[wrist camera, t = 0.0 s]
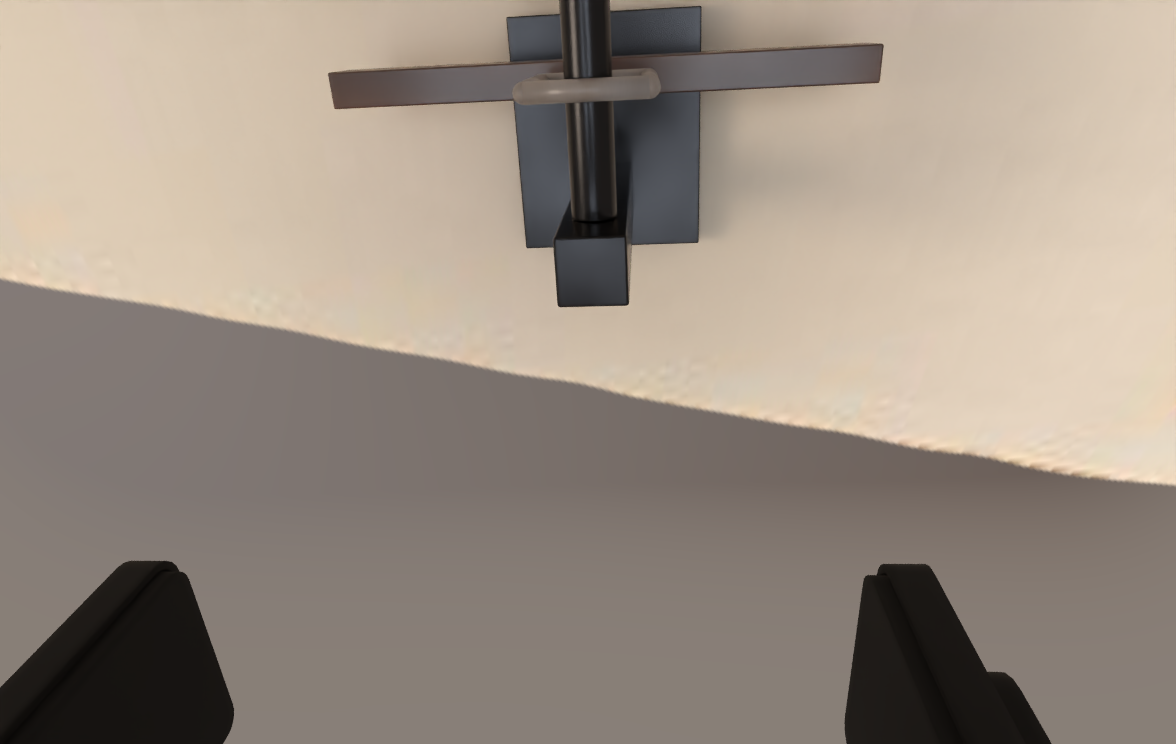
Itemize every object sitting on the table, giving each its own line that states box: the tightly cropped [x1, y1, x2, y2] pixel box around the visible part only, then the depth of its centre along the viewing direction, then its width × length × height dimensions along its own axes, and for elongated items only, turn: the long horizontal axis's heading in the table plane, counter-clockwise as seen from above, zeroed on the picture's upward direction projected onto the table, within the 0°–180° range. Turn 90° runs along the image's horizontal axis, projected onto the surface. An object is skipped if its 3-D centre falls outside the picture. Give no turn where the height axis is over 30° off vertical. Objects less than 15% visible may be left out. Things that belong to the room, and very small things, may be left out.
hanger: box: [328, 43, 883, 109], centre depth 27 cm, size 1×22×9 cm, turn 93°
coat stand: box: [507, 0, 701, 307], centre depth 29 cm, size 15×9×16 cm, turn 3°
